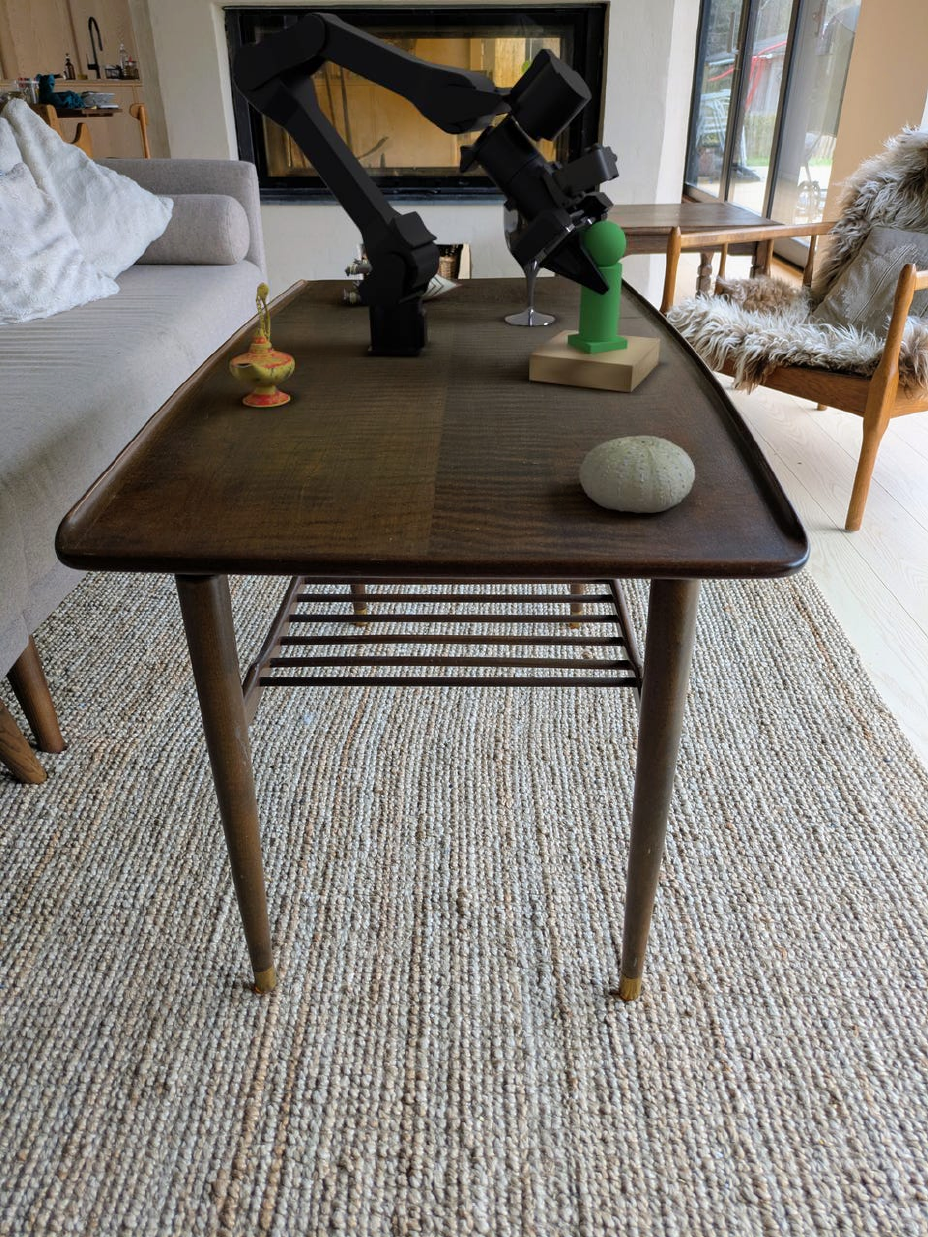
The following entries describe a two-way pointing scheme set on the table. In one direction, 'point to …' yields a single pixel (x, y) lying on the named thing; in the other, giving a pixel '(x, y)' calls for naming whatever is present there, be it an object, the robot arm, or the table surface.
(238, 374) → the magic lamp
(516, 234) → the wine glass
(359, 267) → the figurine
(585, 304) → the green toy
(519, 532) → the table surface
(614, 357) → the wooden block
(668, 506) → the sea urchin shell
